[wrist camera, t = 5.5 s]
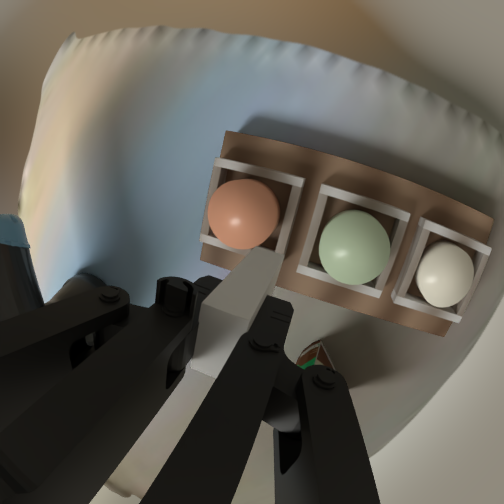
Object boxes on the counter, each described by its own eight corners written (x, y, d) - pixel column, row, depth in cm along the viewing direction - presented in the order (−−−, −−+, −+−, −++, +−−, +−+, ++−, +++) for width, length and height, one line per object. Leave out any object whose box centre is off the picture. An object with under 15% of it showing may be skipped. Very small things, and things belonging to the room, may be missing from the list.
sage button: (312, 263, 26) (309, 272, 24) (331, 200, 24) (330, 204, 22) (372, 282, 25) (375, 293, 23) (394, 221, 23) (400, 227, 21)
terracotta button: (212, 232, 28) (202, 238, 26) (225, 172, 26) (214, 172, 24) (271, 250, 27) (265, 258, 25) (287, 188, 25) (282, 189, 22)
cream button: (405, 288, 25) (410, 298, 23) (426, 232, 23) (434, 238, 21) (450, 303, 24) (457, 313, 22) (472, 251, 22) (482, 258, 20)
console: (211, 252, 34) (192, 265, 29) (235, 133, 29) (218, 128, 25) (437, 324, 28) (448, 345, 24) (481, 214, 23) (502, 222, 19)
